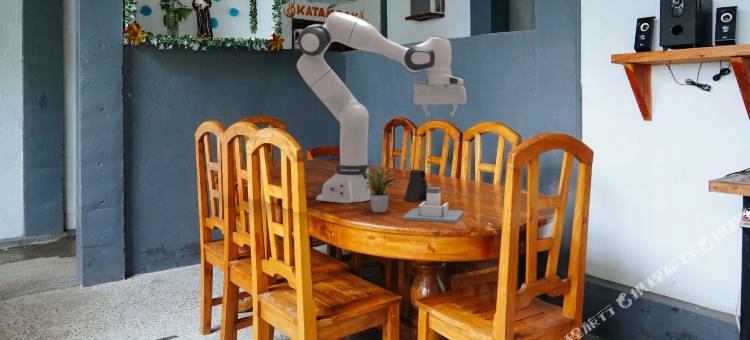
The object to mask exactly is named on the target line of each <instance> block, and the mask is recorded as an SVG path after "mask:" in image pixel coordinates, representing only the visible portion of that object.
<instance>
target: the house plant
mask: <svg viewBox="0 0 750 340" xmlns="http://www.w3.org/2000/svg"><path fill="white" fill-rule="evenodd" d="M389 168H390V167H387V168H386V169H385V170H384V171H383V173H382V170H381V169H379V166H377V168H376V169H377V170H376V174H377V175H376V174H375V173H374V172H373V171H372V170H370V172H369V174H368V173H365V174H367V175H368V176H369V178H368V180H369V181H370V182H366V184H369V186H368V185H367V187H369V188H367V187H366V188H367V189H371V190H372V191H373V192H371V194H370V200H369V201H370V206H371V210H372V212H373V213H386V212H387V211H388V204H389V199H390V197H389V196H390V193H388V192H385V191H386V190H388V189H389V188H390V187H396V188H397V185H396V183H395V182H394V181H398V180H399V178H391V179H389V178H390V177H392V176H393V173H394V172H395V171H394V170H393V171H391V172H390V173H388V174H387V175H386V176H385V174H386V172H387V171H388V169H389ZM367 171H368V170H367ZM395 174H397V172H396V173H394V175H395ZM367 175H366V176H367ZM384 176H385V178H384ZM383 179H384V180H383ZM392 182H394V183H392ZM367 189H366V190H367Z"/></svg>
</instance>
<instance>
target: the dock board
mask: <svg viewBox="0 0 750 340" xmlns="http://www.w3.org/2000/svg"><path fill="white" fill-rule="evenodd" d="M464 214H465V213H464V210H453V209H452V210H451V209H449V202H445V203H443V204H442V205H441V206H427V201H421V203H420V204H419V205H418V207H417V208H416V207H415V208H413V209H411V210H409V211H408V212H407V213H405V214H404V215H402V221H419V222H430V223H431V222H434V223H450V224H451V223H453V224H456V223H458V221H459V220H460V219H461V218H462V217H463V215H464Z"/></svg>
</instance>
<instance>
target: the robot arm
mask: <svg viewBox="0 0 750 340" xmlns="http://www.w3.org/2000/svg"><path fill="white" fill-rule="evenodd" d="M334 42H337V43H340V44H343V45H345V46H346V47H347V46H348V47H350V48H352V49H356V50H357V51H358V50H359V51H363V52H370V53H375V54H379V55H382V56H384V57H386V58H387V59H390V60H393V61H395V62H398V63H399V64H400V65H402V66H403V68H404V69H405V70H406V71H407V72H408V73H410V74H414V75H415V74H417V75H418V74H421V73H423V72H424V71H427V73H428V74H427V78H428V79H427V80H417V81H415V82H414V83H413V85H412V87H413V100H412V101H413V102H412V103H413V104H414V105H416V106H417V105H418V106H420V105H422V109H423V111H424V113H425V114H424V115H425V117H426V118H427V117H428V118H429V117H431V112H430V111H428V109H427V108H428V105H430V106H431V105H432V106H433V105H436V106H437V105H443V106H444V105H452V110H451V111H450V112H449V117H451V118H453V117H455V112H456V110H457V108H458V105H465V104H467V101H468V100H467V98H468V97H467V91H466V87H465V86H464V79H463V78H461V77H457V76H455V75H454V76H453V75H452V69H451V64H452V60H453V59H452V46H451V42H450V40H449V39H447V38H446V37H442V36H436V35H435V36H434V35H433V36H430V37H429V38H428V39H426V40H425V41H424V42H421V43H419V44H416V45H412V46H411V47H406V46H403V45H401V44H398V43H396V42H394V41H391V40H390V39H389V38H386V37H385V36H383V35H382V34H381V33H380V31H378V29H377V28H376V27H375V26H374V25H372V24H371V23H369V22H367V21H365V20H364V19H361V18H359V17H357V16H354V15H351V14H348V13H345V12H339V11H333V12H331V13H329V15H328V16H327V18H326V19H325V22H324V23H323V24H321V23H314V24H311V25H310V24H309V25H308V26H306V27H305V28H304V29H302V30H301V31H300V33H299V35H298V38H297V45H298V48H299V50H300V51H301V52H302V53H303V54H302V55H301V56H300V58H299V59H298V60H297V63H296V69H297V70H298V72H299V74H300V76H301V77H302V78H303V81H304V82H305V83H306V84H307V85H308V87H309V88H310V89H311V90H312V91H313V93H314V94H315V95H316V96H317V97H318V98H319V99H320V101H321V102H322V103H323V104H324V106H325V107H327V109H328V110H329V111H330V112H331V113H332V116H334V118H336V120H337V121H338V122H339V126H340V127H339V160H340V161H339V164H338V165H337V166H334V171H335V174H334V175H333V176H331V177H330V178H329V179H328V180H326V181H325V182H324V183H323V185H322V189H321V193H320V194H318V195H317V196H316V197H315V199H316V201H321V202H331V203H333V202H334V203H342V204H351V203H359V202H367V201H371V200H370V194H371V193H372V192H371V190H370V189H367V188H370V187H367V185H368V186H370V185H369V184H366V182H369V181H370V180H369V179H370V177H369V176H368V175H367V174H365V173H368V174H369V173H370V167H369V166H370V165H369V163H368V159H369V158H368V143H369V142H368V140H369V124H370V123H369V121H370V120H369V117H370V116H369V111H368V109H367V108H366V107H365V105H364V104H362V103H360V102H359V101H358V100H357V98H355V96H354V95H353V93H351V91H350V90H349V89H348V87H347V85H346V84H345V83H344V81H342V80H341V78H340V77H339V76H338V75H337V73H335V71H334V70H333V69H332V68H331V67H330V66H329V64H328V63H327V62H326V59H325V58H324V56H325V54H326V53H327V51H328V50H329V48H330V47H331V44H332V43H334ZM367 170H368V171H367ZM366 175H367V176H366ZM369 175H370V174H369ZM369 183H370V182H369ZM366 187H367V188H366ZM366 189H367V190H366Z"/></svg>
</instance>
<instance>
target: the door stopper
mask: <svg viewBox="0 0 750 340" xmlns="http://www.w3.org/2000/svg"><path fill="white" fill-rule="evenodd" d="M407 183H408V184H407V188H406V192H405V195H404V198H403V200H404V201H407V202H411V203H420V202H424V201H426V202H427V188H428V187H429V186H428V183H427V179H426V172H425V171H424V170H420V169H410V171H409V180H408V182H407Z"/></svg>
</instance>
